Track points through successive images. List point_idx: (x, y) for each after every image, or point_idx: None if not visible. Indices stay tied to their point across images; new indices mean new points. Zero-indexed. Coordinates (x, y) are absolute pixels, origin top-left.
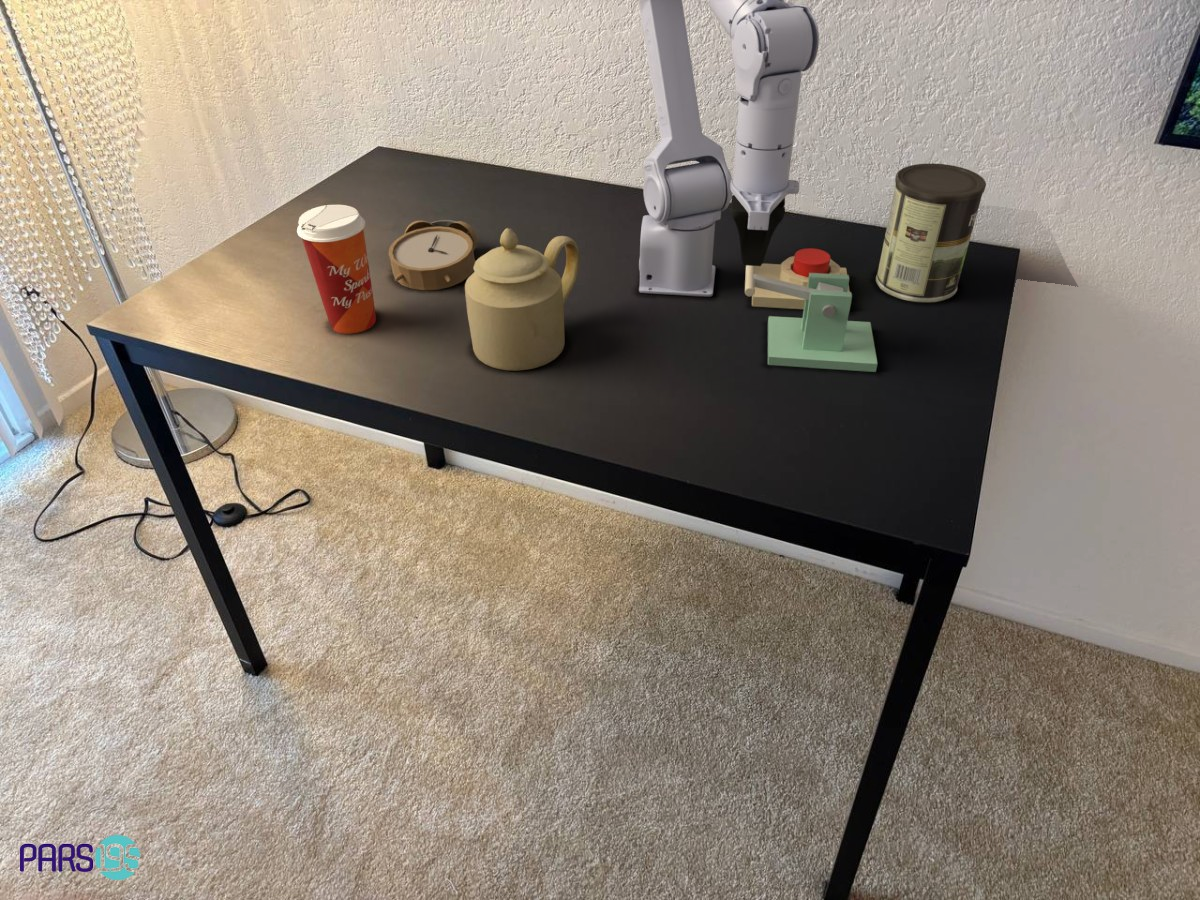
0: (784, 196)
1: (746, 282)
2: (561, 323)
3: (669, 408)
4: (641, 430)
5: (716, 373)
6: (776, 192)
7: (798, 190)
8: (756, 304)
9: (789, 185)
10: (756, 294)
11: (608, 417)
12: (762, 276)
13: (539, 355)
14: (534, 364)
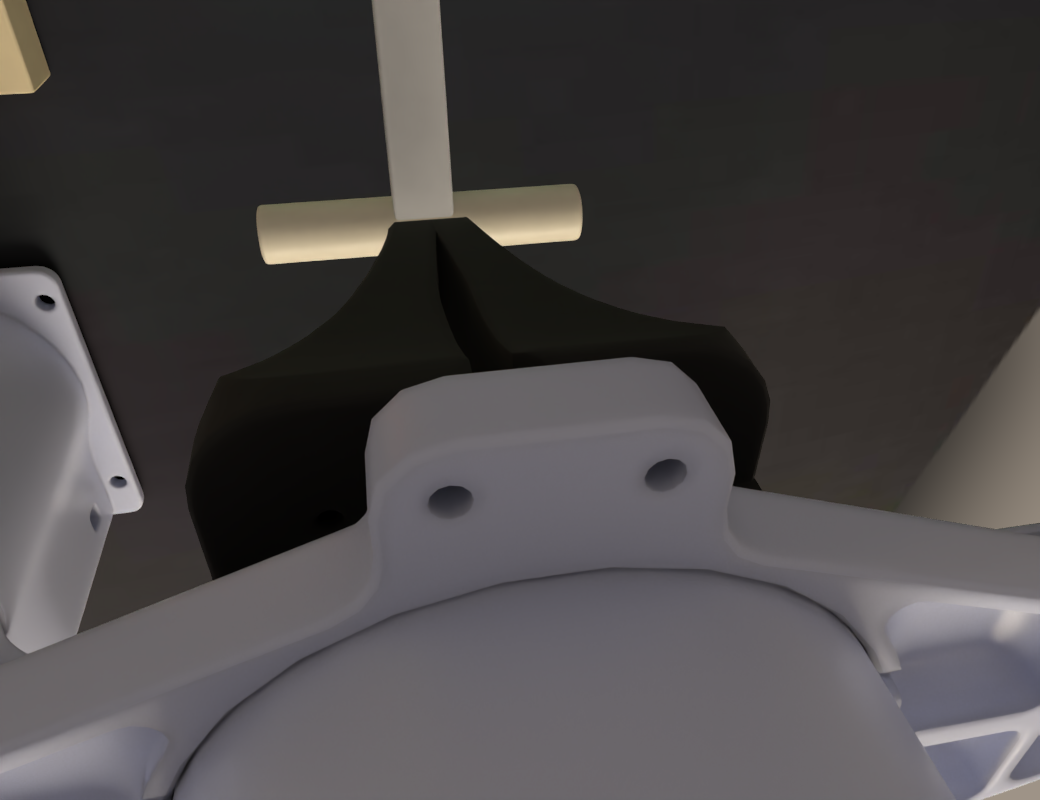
0: (802, 509)
1: (502, 245)
2: None
3: (811, 290)
4: (897, 339)
5: (626, 177)
6: (869, 642)
7: (677, 384)
8: (38, 56)
9: (632, 554)
10: (2, 74)
11: (831, 420)
12: (395, 160)
13: None
14: None
